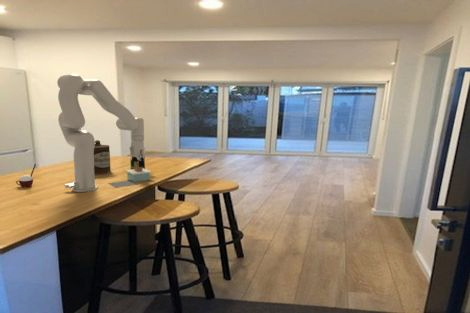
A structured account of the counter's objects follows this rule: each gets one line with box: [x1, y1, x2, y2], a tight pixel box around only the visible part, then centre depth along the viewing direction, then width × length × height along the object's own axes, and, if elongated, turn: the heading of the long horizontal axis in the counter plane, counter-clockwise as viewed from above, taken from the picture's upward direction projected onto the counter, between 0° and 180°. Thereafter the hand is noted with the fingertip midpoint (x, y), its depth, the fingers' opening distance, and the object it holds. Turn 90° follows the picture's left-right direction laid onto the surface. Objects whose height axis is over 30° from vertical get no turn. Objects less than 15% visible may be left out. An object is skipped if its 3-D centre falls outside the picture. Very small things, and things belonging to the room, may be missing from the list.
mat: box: [107, 179, 139, 189], centre depth 173 cm, size 13×13×1 cm
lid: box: [124, 161, 153, 175], centre depth 184 cm, size 12×12×6 cm
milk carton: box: [129, 146, 146, 170], centre depth 203 cm, size 9×9×20 cm
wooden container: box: [94, 139, 111, 175], centre depth 203 cm, size 15×15×22 cm
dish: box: [126, 172, 151, 183], centre depth 185 cm, size 10×10×5 cm
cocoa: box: [15, 164, 37, 188], centre depth 163 cm, size 10×6×12 cm, turn 93°
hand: (138, 165), depth 184 cm, fingers open, 9 cm apart
